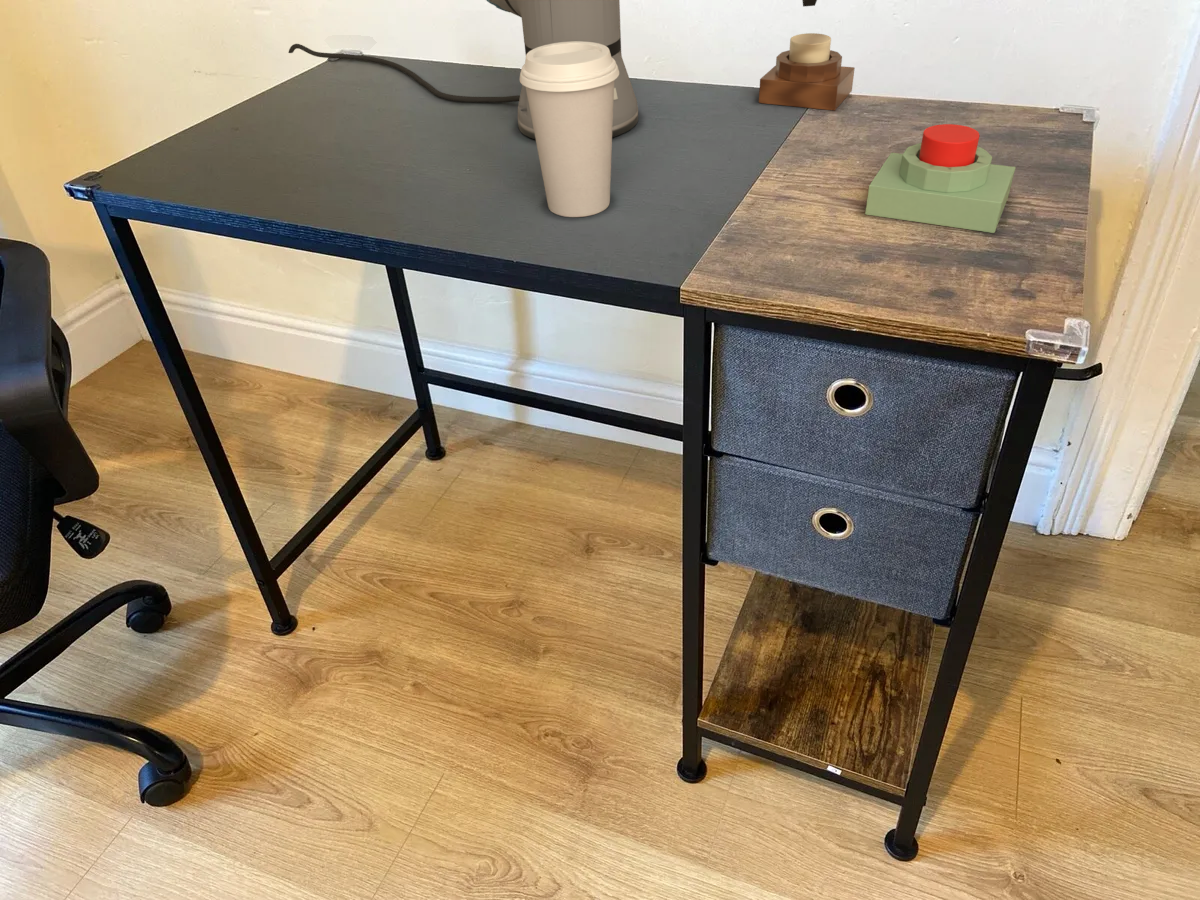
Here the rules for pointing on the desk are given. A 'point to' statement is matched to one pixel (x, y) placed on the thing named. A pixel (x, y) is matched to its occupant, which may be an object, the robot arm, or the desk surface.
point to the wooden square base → (807, 83)
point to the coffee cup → (572, 123)
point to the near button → (949, 145)
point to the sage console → (941, 191)
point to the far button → (809, 48)
